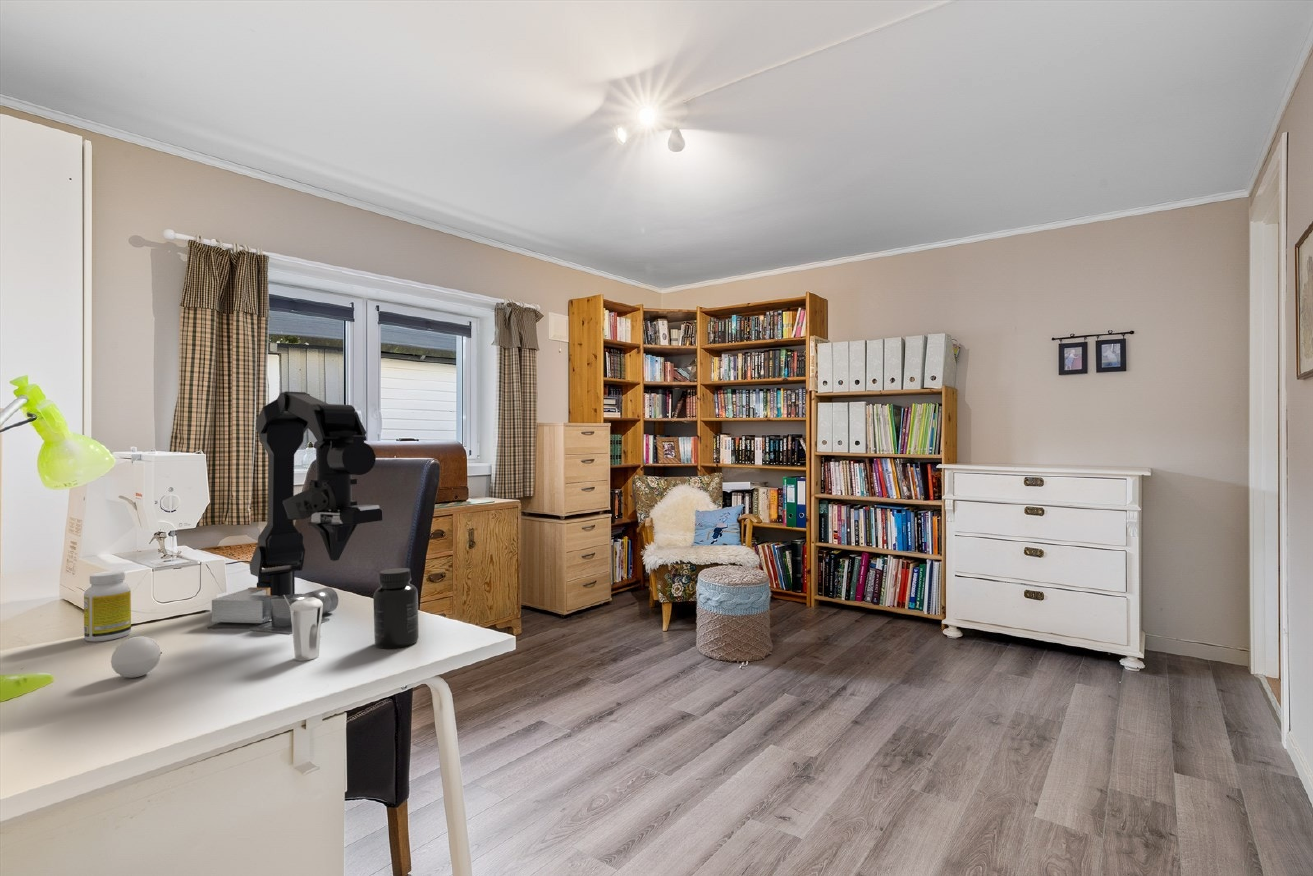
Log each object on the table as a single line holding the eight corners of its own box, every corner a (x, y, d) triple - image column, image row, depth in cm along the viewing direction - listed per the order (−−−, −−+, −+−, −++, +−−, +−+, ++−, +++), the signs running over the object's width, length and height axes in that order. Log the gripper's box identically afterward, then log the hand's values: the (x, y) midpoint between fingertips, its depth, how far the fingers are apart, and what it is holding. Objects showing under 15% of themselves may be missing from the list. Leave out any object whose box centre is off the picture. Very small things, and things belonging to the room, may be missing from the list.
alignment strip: (275, 622, 121) (275, 620, 121) (262, 628, 117) (262, 626, 117) (222, 622, 121) (222, 620, 121) (207, 628, 117) (207, 627, 117)
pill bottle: (140, 632, 115) (140, 569, 115) (107, 643, 109) (107, 577, 109) (108, 631, 116) (108, 569, 116) (74, 642, 109) (73, 576, 109)
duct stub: (309, 610, 128) (309, 585, 128) (347, 614, 126) (347, 588, 126) (249, 630, 115) (249, 602, 115) (290, 634, 113) (289, 605, 113)
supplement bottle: (408, 634, 112) (407, 564, 112) (425, 643, 107) (425, 570, 107) (367, 643, 107) (366, 570, 107) (383, 652, 102) (383, 576, 103)
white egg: (162, 677, 93) (162, 637, 93) (110, 687, 89) (110, 646, 89) (160, 663, 99) (160, 626, 99) (112, 671, 95) (111, 633, 95)
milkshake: (287, 655, 101) (286, 591, 102) (325, 651, 103) (324, 588, 103) (281, 665, 97) (280, 598, 97) (321, 660, 99) (320, 594, 99)
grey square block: (298, 609, 127) (298, 588, 127) (262, 623, 117) (262, 600, 117) (250, 608, 128) (250, 587, 128) (211, 622, 118) (211, 599, 118)
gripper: (257, 475, 114) (257, 564, 114) (328, 477, 106) (329, 573, 106) (315, 472, 124) (316, 554, 124) (384, 473, 116) (385, 561, 116)
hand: (334, 560), depth 117 cm, fingers closed
